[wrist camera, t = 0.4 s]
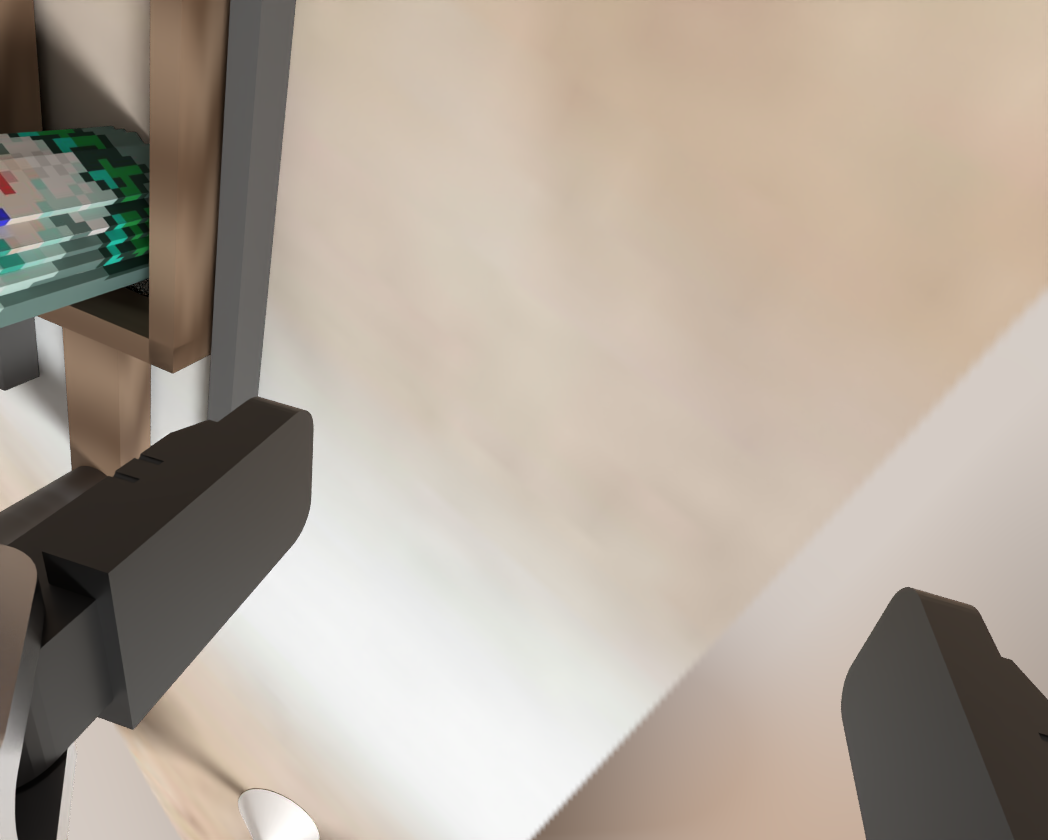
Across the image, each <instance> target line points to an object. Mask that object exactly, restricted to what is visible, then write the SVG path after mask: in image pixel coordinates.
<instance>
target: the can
mask: <svg viewBox="0 0 1048 840" xmlns="http://www.w3.org/2000/svg"><path fill="white" fill-rule="evenodd" d="M149 201H150V144H144V142H143V141H142V140H141V138H140V137H139V136H138V134H137V133H136V132H126V131H125V129H115V128H114V127H113V126H104V127H91V128H77V129H63V130H50V131H36V132H22V133H9V134H0V328H2V327H5V326H8V325H11V324H14V323H17V322H20V321H23V320H26V319H29V318H32V317H35V316H38V315H41V314H44V313H47V312H50V311H53V310H56V309H59V308H62V307H65V306H68V305H71V304H74V303H77V302H80V301H83V300H86V299H89V298H92V297H95V296H98V295H101V294H104V293H107V292H110V291H113V290H116V289H119V288H122V287H125V286H128V285H131V284H134V283H137V282H140V281H143V280H146V279H149Z"/></svg>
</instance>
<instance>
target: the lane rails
mask: <svg viewBox="0 0 1048 840" xmlns="http://www.w3.org/2000/svg"><path fill="white" fill-rule="evenodd" d="M295 4H296V0H230V19H229V37H228V55H227V73H226V92H225V110H224V128H223V146H222V165H221V183H220V201H219V219H218V238H217V256H216V274H215V292H214V310H213V329H212V347H211V365H210V383H209V402H208V420H212V421H215V422H218V421H220V420H221V419H222V418H224V417H225V416H227V415H228V414H229V413H231V412H232V411H233V410H235V409H236V408H237V407H239V406H240V405H242V404H243V403H244V402H246V401H247V400H249V399H250V398H253V397H258V388H259V377H260V367H261V357H262V346H263V336H264V325H265V315H266V305H267V294H268V284H269V274H270V263H271V253H272V243H273V232H274V222H275V212H276V201H277V191H278V180H279V170H280V160H281V149H282V139H283V129H284V118H285V108H286V98H287V87H288V77H289V66H290V56H291V46H292V35H293V25H294V15H295ZM37 377H39V368H38V356H37V345H36V334H35V322H34V317H32V318H29V319H26V320H23V321H20V322H17V323H14V324H11V325H8V326H5V327H2V328H0V389H2V390H4V391H6V390H8V389H10V388H13V387H15V386H17V385H20V384H22V383H25V382H27V381H29V380H32V379H34V378H37Z"/></svg>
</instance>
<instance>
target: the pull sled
mask: <svg viewBox="0 0 1048 840" xmlns="http://www.w3.org/2000/svg"><path fill="white" fill-rule="evenodd" d="M229 19H230V0H150V201H149V298H148V297H146V296H143V295H141V294H138V293H136V292H134V291H131V290H129V289H126V288H124V287H122V288H119V289H116V290H113V291H110V292H107V293H104V294H101V295H98V296H95V297H92V298H89V299H86V300H83V301H80V302H77V303H74V304H71V305H68V306H65V307H62V308H59V309H56V310H53V311H50V312H47V313H44V314H41V315H38V317H41V318H43V319H45V320H48V321H50V322H52V323H55V324H57V325H59V326H62V329H63V344H64V359H65V374H66V390H67V405H68V420H69V435H70V450H71V465H72V471H71V472H69V473H67V474H65V475H64V476H62V477H60V478H58V479H57V480H55V481H53V482H51V483H50V484H48V485H46V486H45V487H43V488H41V489H39V490H38V491H36V492H34V493H32V494H31V495H29V496H27V497H26V498H24V499H22V500H20V501H19V502H17V503H15V504H13V505H12V506H10V507H8V508H7V509H5V510H3V511H1V512H0V544H2V545H6V546H7V545H8V544H10V543H11V542H13V541H14V540H16V539H17V538H19V537H20V536H22V535H23V534H25V533H26V532H27V531H29V530H30V529H32V528H33V527H35V526H36V525H38V524H39V523H40V522H42V521H43V520H45V519H46V518H48V517H49V516H51V515H52V514H54V513H55V512H56V511H58V510H59V509H61V508H62V507H64V506H65V505H67V504H68V503H70V502H71V501H72V500H74V499H75V498H77V497H78V496H80V495H81V494H83V493H84V492H85V491H87V490H88V489H90V488H91V487H93V486H94V485H96V484H97V483H99V482H100V481H101V480H103V479H104V478H106V477H107V476H111V477H113V476H114V474H115V471H116V470H117V469H119V468H120V467H122V466H123V465H125V464H126V463H128V462H129V461H130V460H132V459H133V458H136V459H139V457H140V454H141V453H142V452H144V451H145V450H146V449H148V448H149V447H150V411H151V365H154V366H156V367H159V368H161V369H163V370H166V371H168V372H170V373H175V372H177V371H179V370H181V369H183V368H185V367H187V366H189V365H191V364H193V363H195V362H196V361H198V360H200V359H202V358H204V357H206V356H208V355H210V354H211V347H212V329H213V310H214V292H215V274H216V256H217V238H218V219H219V201H220V183H221V165H222V146H223V128H224V110H225V92H226V73H227V55H228V37H229ZM36 131H42V117H41V103H40V89H39V75H38V61H37V47H36V33H35V18H34V4H33V0H0V134H9V133H22V132H36Z"/></svg>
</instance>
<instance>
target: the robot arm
mask: <svg viewBox="0 0 1048 840" xmlns="http://www.w3.org/2000/svg"><path fill="white" fill-rule="evenodd" d="M312 458H313V419H312V416H311V414H310V413H309V412H308V411H306V410H302V409H299V408H296V407H292V406H289V405H285V404H282V403H278V402H275V401H271V400H268V399H265V398H261V397H253V398H250V399H249V400H247V401H246V402H244V403H243V404H242V405H240V406H239V407H237V408H236V409H235V410H233V411H232V412H231V413H229V414H228V415H227V416H225V417H224V418H222V419H221V420H220V421H218V422H215V421H212V420H207V421H204V422H201V423H198V424H195V425H192V426H189V427H186V428H184V429H181V430H178V431H175V432H172V433H170V434H168V435H167V436H165V437H164V438H162V439H161V440H160V441H158V442H157V443H155V444H154V445H152V446H151V447H149V448H148V449H146V450H145V451H144V452H142V453H141V454H140V457H139V459H136V458H133V459H132V460H130V461H129V462H128V463H126V464H125V465H123V466H122V467H120V468H119V469H117V470H116V471H115V474H114V476H113V477H111V476H107V477H106V478H104V479H103V480H101V481H100V482H99V483H97V484H96V485H94V486H93V487H91V488H90V489H88V490H87V491H85V492H84V493H83V494H81V495H80V496H78V497H77V498H75V499H74V500H72V501H71V502H70V503H68V504H67V505H65V506H64V507H62V508H61V509H59V510H58V511H56V512H55V513H54V514H52V515H51V516H49V517H48V518H46V519H45V520H43V521H42V522H40V523H39V524H38V525H36V526H35V527H33V528H32V529H30V530H29V531H27V532H26V533H25V534H23V535H22V536H20V537H19V538H17V539H16V540H14V541H13V542H11V543H10V544H8V545H7V546H6V545H2V544H0V840H68V831H69V822H70V812H71V803H72V794H73V785H74V776H75V767H76V758H77V747H76V742H75V740H76V739H77V738H78V737H79V736H80V734H82V732H83V731H84V730H85V729H86V728H87V727H88V726H89V725H90V724H91V723H92V722H93V721H94V720H95V718H97V717H99V718H102V719H105V720H107V721H110V722H113V723H116V724H118V725H121V726H124V727H127V728H129V729H132V730H133V729H134V728H135V727H136V726H137V725H138V724H139V723H140V721H141V720H142V719H143V718H144V717H145V716H146V714H147V713H148V712H149V711H150V710H151V709H152V707H153V706H154V705H155V704H156V703H157V702H158V701H159V699H160V698H161V697H162V696H163V695H164V694H165V692H166V691H167V690H168V689H169V688H170V687H171V685H172V684H173V683H174V682H175V681H176V680H177V678H178V677H179V676H180V675H181V674H182V673H183V672H184V670H185V669H186V668H187V667H188V666H189V665H190V663H191V662H192V661H193V660H194V659H195V658H196V656H197V655H198V654H199V653H200V652H201V651H202V650H203V648H204V647H205V646H206V645H207V644H208V643H209V641H210V640H211V639H212V638H213V637H214V636H215V634H216V633H217V632H218V631H219V630H220V629H221V627H222V626H223V625H224V624H225V623H226V622H227V621H228V619H229V618H230V617H231V616H232V615H233V614H234V612H235V611H236V610H237V609H238V608H239V607H240V605H241V604H242V603H243V602H244V601H245V600H246V599H247V597H248V596H249V595H250V594H251V593H252V592H253V590H254V589H255V588H256V587H257V586H258V585H259V583H260V582H261V581H262V580H263V579H264V578H265V576H266V575H267V574H268V573H269V572H270V571H271V570H272V568H273V567H274V566H275V565H276V564H277V563H278V561H279V560H280V559H281V558H282V557H283V556H284V554H285V553H286V552H287V551H288V550H289V549H290V548H291V546H292V545H293V544H294V543H295V541H296V540H297V538H298V537H299V535H300V533H301V532H302V530H303V527H304V525H305V523H306V520H307V517H308V514H309V510H310V505H311V488H312ZM841 713H842V720H843V726H844V731H845V736H846V741H847V746H848V750H849V756H850V760H851V766H852V770H853V775H854V780H855V786H856V790H857V795H858V800H859V805H860V810H861V815H862V820H863V825H864V830H865V835H866V840H1048V700H1047V698H1046V697H1045V696H1044V695H1043V694H1042V693H1041V692H1040V691H1039V690H1038V688H1037V687H1036V686H1035V685H1034V684H1033V683H1032V682H1031V681H1030V680H1029V679H1028V677H1027V676H1026V675H1025V674H1024V673H1023V672H1022V671H1021V670H1020V669H1019V668H1018V666H1017V665H1016V664H1015V663H1014V662H1013V661H1012V660H1010V659H1006V658H1003V657H1001V655H1000V653H999V651H998V650H997V647H996V645H995V643H994V641H993V639H992V637H991V635H990V633H989V631H988V629H987V627H986V625H985V623H984V621H983V619H982V617H981V615H980V613H979V612H978V610H977V609H976V608H975V607H973V606H971V605H968V604H965V603H962V602H958V601H955V600H951V599H948V598H944V597H941V596H938V595H934V594H930V593H927V592H924V591H920V590H916V589H914V588H910V587H905V588H903V589H901V590H899V591H898V592H897V593H896V594H895V595H894V597H893V598H892V600H891V601H890V603H889V604H888V606H887V608H886V609H885V611H884V613H883V614H882V616H881V618H880V619H879V621H878V622H877V624H876V626H875V627H874V629H873V631H872V632H871V634H870V636H869V637H868V639H867V641H866V642H865V644H864V646H863V647H862V649H861V651H860V652H859V654H858V655H857V657H856V659H855V660H854V662H853V664H852V665H851V667H850V669H849V671H848V674H847V676H846V679H845V682H844V687H843V692H842V701H841Z"/></svg>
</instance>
